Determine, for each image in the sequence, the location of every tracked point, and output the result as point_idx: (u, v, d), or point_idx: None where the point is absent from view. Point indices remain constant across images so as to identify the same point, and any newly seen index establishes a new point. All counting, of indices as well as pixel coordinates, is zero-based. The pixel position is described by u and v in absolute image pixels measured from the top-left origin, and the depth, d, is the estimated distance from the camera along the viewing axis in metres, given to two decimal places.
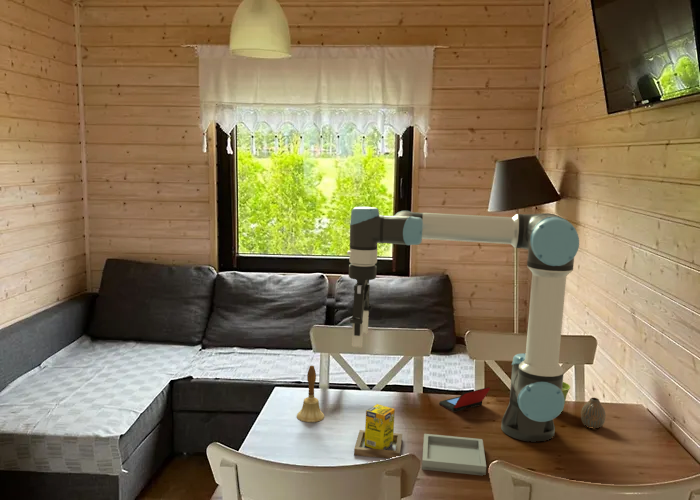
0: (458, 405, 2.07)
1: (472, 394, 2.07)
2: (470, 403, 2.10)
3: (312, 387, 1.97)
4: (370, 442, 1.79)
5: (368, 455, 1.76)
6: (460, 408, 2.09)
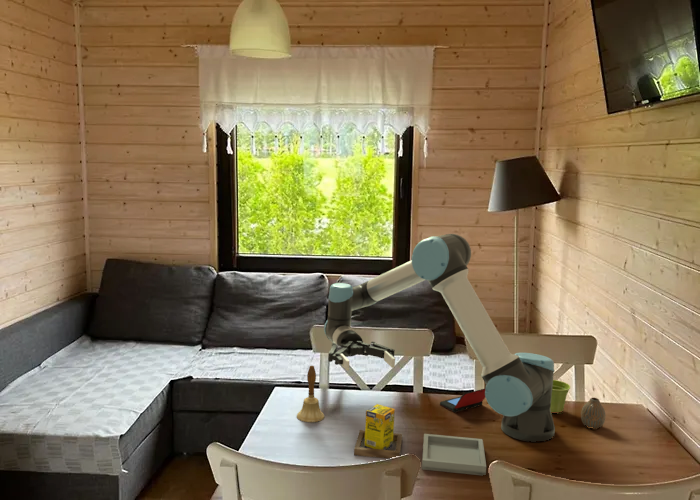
0: (459, 405, 2.07)
1: (473, 394, 2.07)
2: (471, 403, 2.10)
3: (312, 387, 1.97)
4: (370, 442, 1.79)
5: (368, 455, 1.76)
6: (461, 408, 2.09)
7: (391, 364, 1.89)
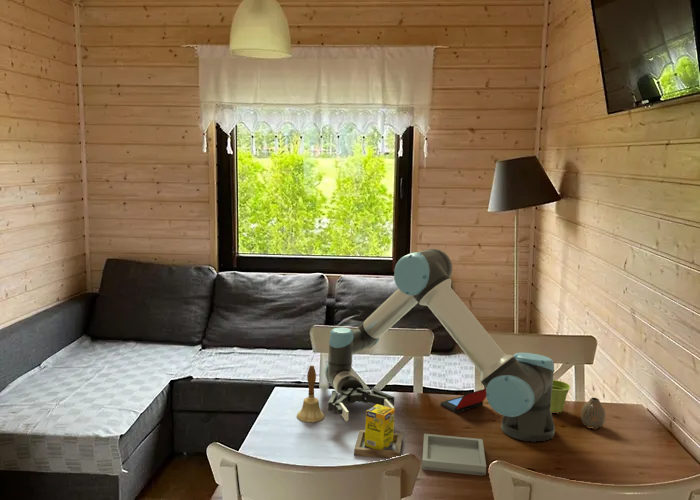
0: (460, 406, 2.07)
1: (474, 395, 2.06)
2: (471, 403, 2.10)
3: (312, 387, 1.97)
4: (370, 442, 1.79)
5: (368, 455, 1.76)
6: (462, 409, 2.08)
7: None
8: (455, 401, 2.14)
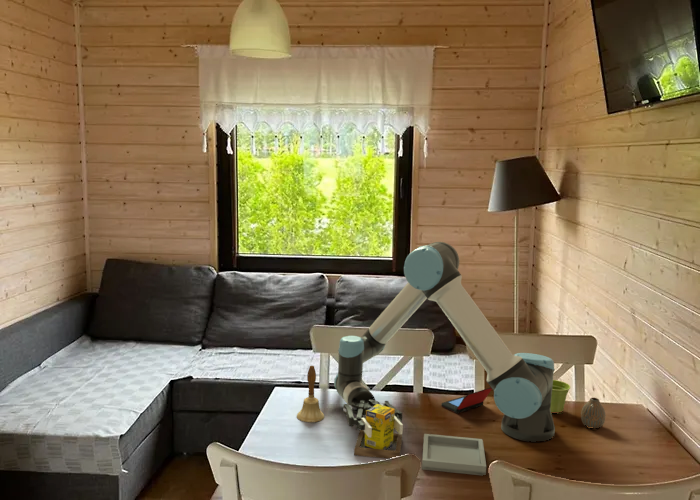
0: (461, 406, 2.06)
1: (475, 395, 2.06)
2: (472, 403, 2.10)
3: (312, 387, 1.97)
4: (370, 442, 1.79)
5: (368, 455, 1.76)
6: (463, 409, 2.08)
7: (399, 430, 1.78)
8: (456, 401, 2.13)
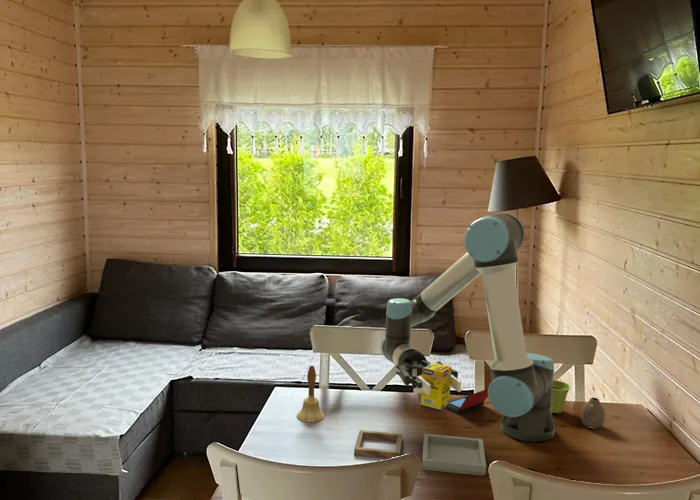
0: (463, 407, 2.06)
1: (477, 395, 2.06)
2: (474, 404, 2.09)
3: (312, 387, 1.97)
4: (427, 400, 1.74)
5: (368, 455, 1.76)
6: (464, 410, 2.08)
7: (457, 388, 1.73)
8: (457, 402, 2.13)
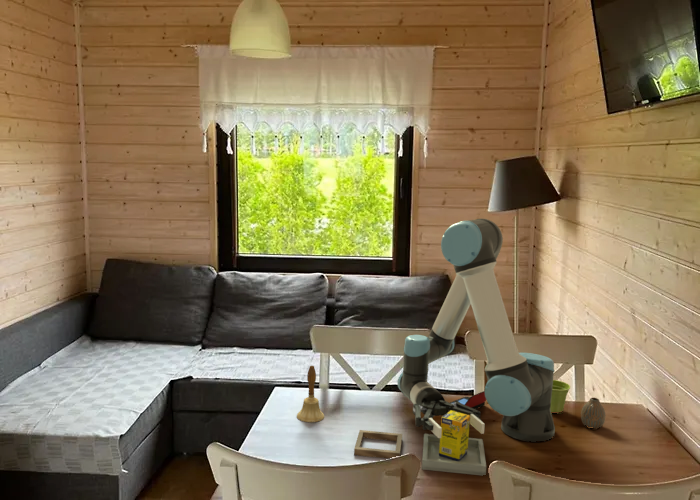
0: None
1: (479, 396, 2.06)
2: (475, 404, 2.09)
3: (312, 387, 1.97)
4: (446, 449, 1.74)
5: (368, 455, 1.76)
6: None
7: (480, 430, 1.74)
8: None
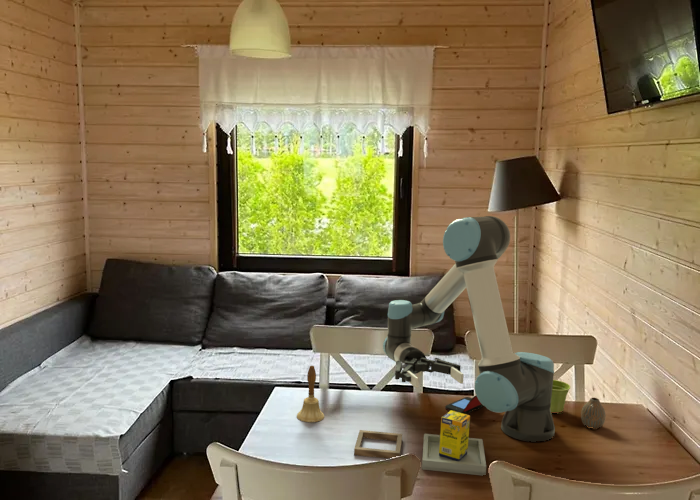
0: (467, 408, 2.05)
1: None
2: (477, 405, 2.09)
3: (312, 387, 1.97)
4: (446, 449, 1.74)
5: (368, 455, 1.76)
6: (468, 411, 2.07)
7: (459, 380, 1.86)
8: (459, 403, 2.12)
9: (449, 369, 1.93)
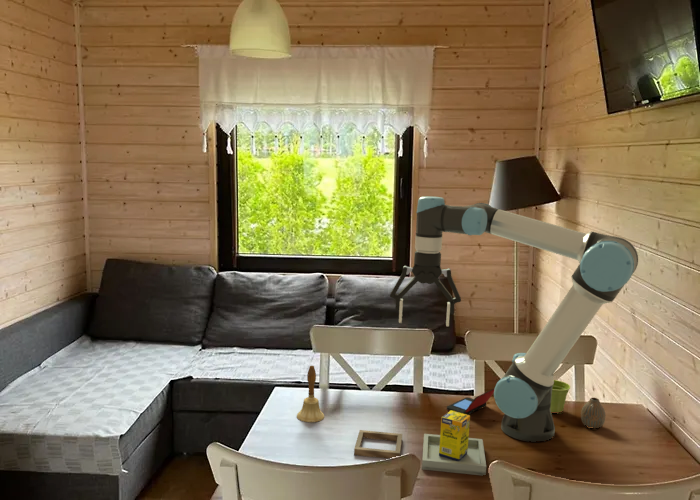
0: (469, 409, 2.04)
1: (482, 397, 2.05)
2: (478, 405, 2.09)
3: (312, 387, 1.97)
4: (446, 449, 1.74)
5: (368, 455, 1.76)
6: (470, 412, 2.06)
7: None
8: (460, 404, 2.11)
9: None
